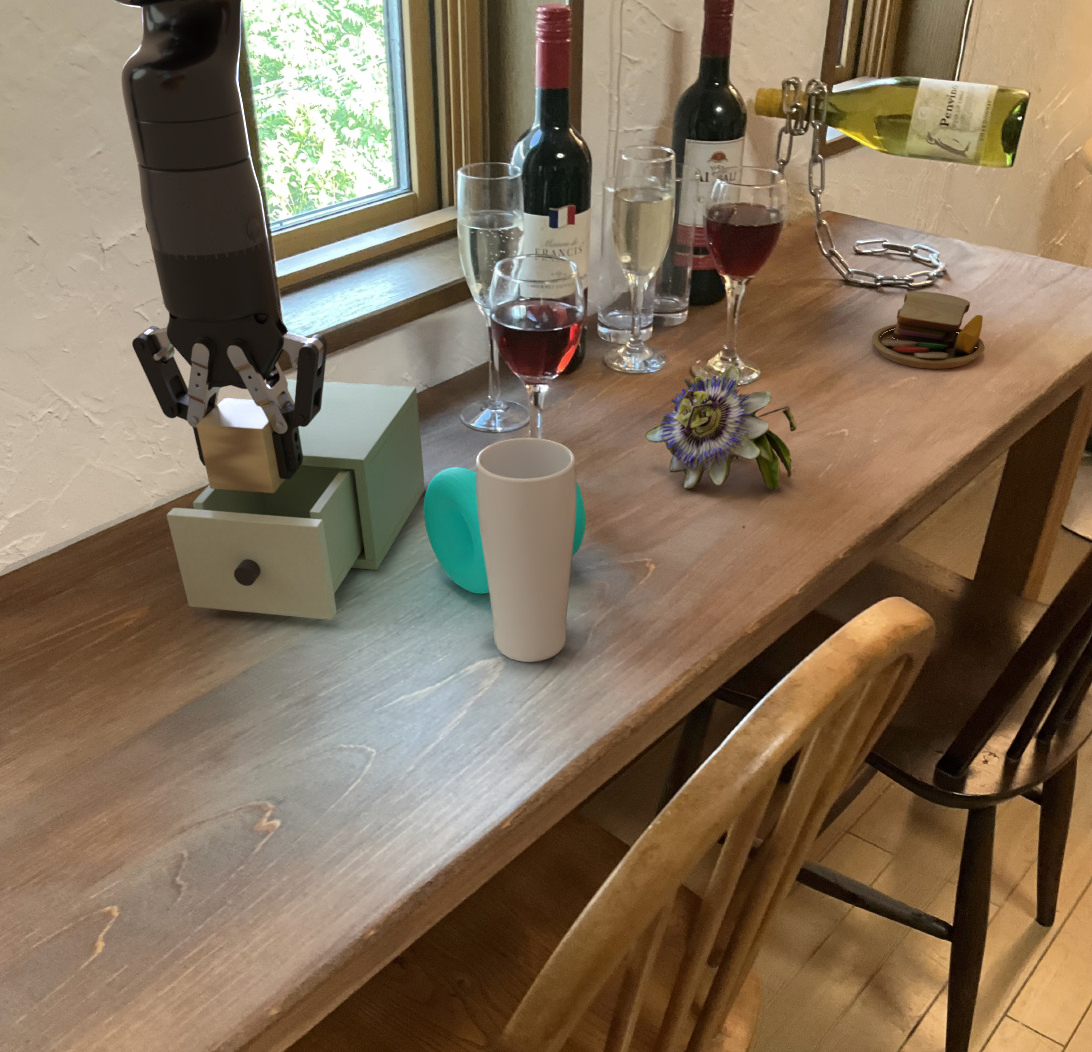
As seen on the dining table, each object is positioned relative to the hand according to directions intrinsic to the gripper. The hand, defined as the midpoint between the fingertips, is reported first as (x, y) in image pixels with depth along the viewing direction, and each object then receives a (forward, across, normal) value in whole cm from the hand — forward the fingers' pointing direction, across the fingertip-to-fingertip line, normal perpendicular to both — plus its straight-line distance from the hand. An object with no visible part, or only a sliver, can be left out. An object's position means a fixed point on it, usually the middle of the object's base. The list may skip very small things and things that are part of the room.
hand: (253, 471), depth 85 cm
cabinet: (+10, -1, -11) cm, 15 cm away
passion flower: (+10, -34, -26) cm, 44 cm away
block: (0, 0, 0) cm, 0 cm away
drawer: (+9, -1, -1) cm, 9 cm away
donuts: (+10, -18, -5) cm, 21 cm away
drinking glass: (+10, -22, +5) cm, 25 cm away
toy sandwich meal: (+10, -55, -62) cm, 84 cm away
